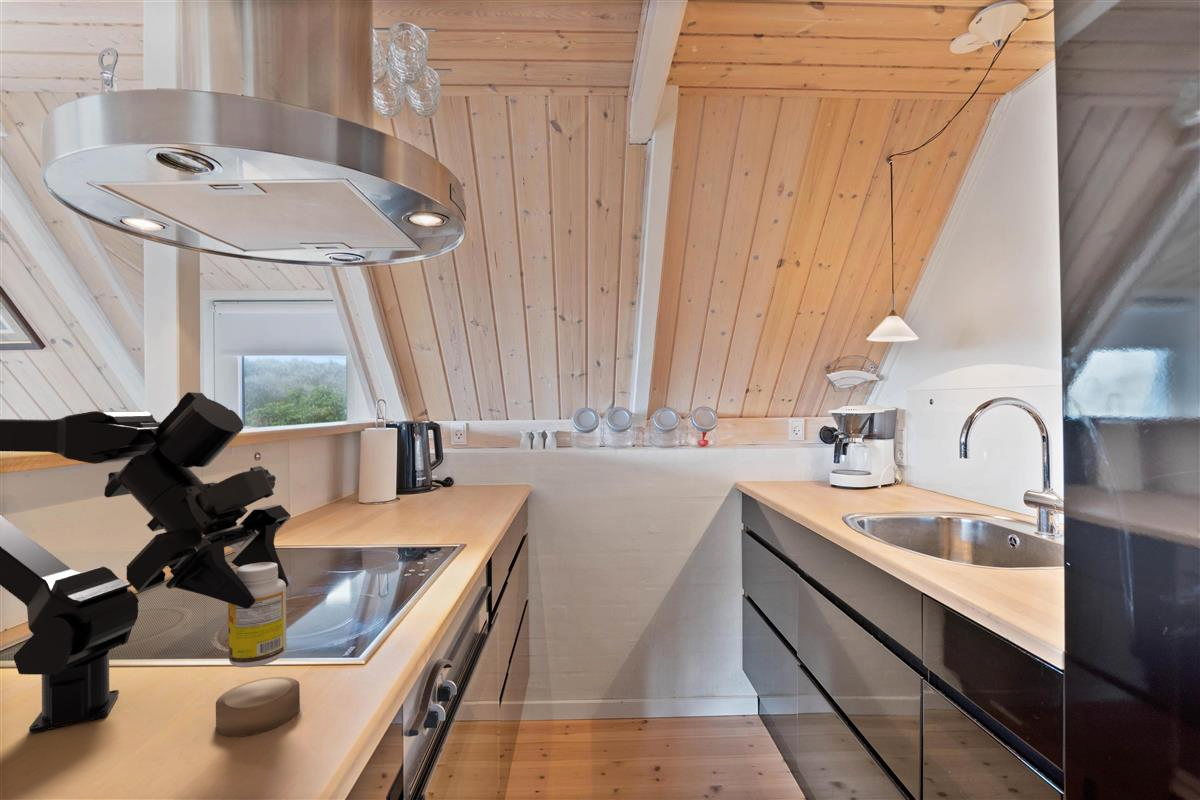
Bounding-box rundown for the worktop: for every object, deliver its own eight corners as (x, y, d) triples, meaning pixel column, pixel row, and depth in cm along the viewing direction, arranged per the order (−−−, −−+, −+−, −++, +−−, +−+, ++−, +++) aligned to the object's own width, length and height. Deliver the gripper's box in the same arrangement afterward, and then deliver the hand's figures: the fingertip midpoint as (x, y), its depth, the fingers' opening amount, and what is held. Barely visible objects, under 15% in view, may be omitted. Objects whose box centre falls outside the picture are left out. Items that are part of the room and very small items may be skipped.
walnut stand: (218, 710, 66) (218, 686, 66) (298, 692, 70) (298, 669, 70) (212, 744, 59) (212, 718, 59) (301, 722, 63) (301, 697, 63)
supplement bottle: (244, 649, 67) (244, 560, 68) (295, 647, 68) (294, 559, 68) (217, 671, 62) (217, 574, 62) (272, 668, 62) (271, 572, 63)
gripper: (154, 451, 56) (264, 568, 55) (275, 441, 75) (359, 528, 74) (77, 533, 57) (185, 650, 56) (217, 502, 75) (299, 590, 74)
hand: (269, 596), depth 65 cm, fingers closed on supplement bottle, 5 cm apart
